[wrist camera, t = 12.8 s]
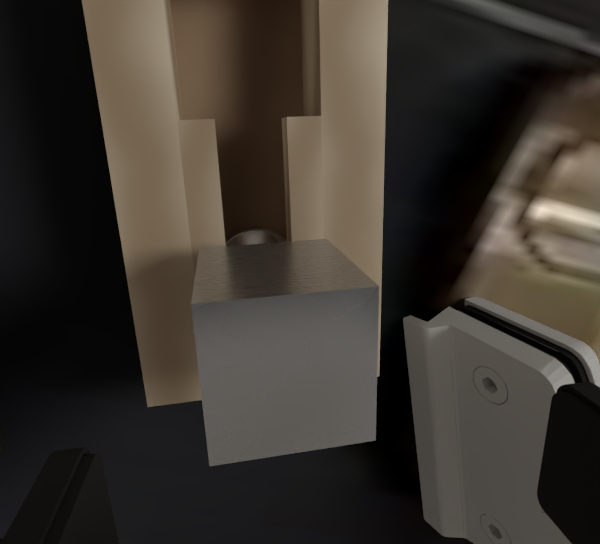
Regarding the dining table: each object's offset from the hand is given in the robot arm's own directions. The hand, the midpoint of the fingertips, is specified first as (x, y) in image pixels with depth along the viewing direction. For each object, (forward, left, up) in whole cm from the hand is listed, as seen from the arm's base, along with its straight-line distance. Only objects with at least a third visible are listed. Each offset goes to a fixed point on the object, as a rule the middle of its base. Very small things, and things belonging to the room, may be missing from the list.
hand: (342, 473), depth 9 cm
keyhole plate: (+1, -5, -15) cm, 16 cm away
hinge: (-13, +11, -16) cm, 24 cm away
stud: (0, 0, -15) cm, 15 cm away
